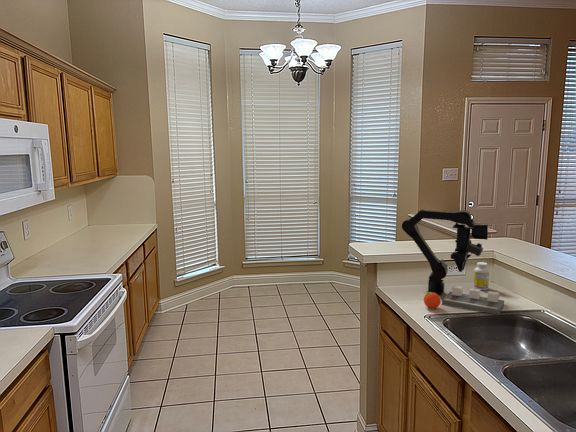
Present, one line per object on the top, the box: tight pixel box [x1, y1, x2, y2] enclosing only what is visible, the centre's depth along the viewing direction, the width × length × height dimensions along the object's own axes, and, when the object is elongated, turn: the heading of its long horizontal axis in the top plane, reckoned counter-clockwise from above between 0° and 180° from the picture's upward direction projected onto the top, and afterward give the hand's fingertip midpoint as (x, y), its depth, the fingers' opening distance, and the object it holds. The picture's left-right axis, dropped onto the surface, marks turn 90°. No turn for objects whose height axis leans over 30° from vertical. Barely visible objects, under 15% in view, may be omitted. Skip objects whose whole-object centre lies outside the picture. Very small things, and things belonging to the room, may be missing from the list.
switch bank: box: [441, 291, 505, 316], centre depth 191 cm, size 23×14×2 cm, turn 56°
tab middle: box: [468, 287, 482, 299], centre depth 193 cm, size 4×3×4 cm
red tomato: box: [423, 291, 442, 310], centre depth 187 cm, size 8×7×7 cm
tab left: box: [451, 285, 464, 296], centre depth 197 cm, size 4×3×4 cm
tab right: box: [487, 290, 500, 302], centre depth 188 cm, size 4×3×4 cm
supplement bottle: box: [473, 261, 490, 291], centre depth 212 cm, size 7×7×13 cm
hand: (461, 270), depth 201 cm, fingers open, 4 cm apart
